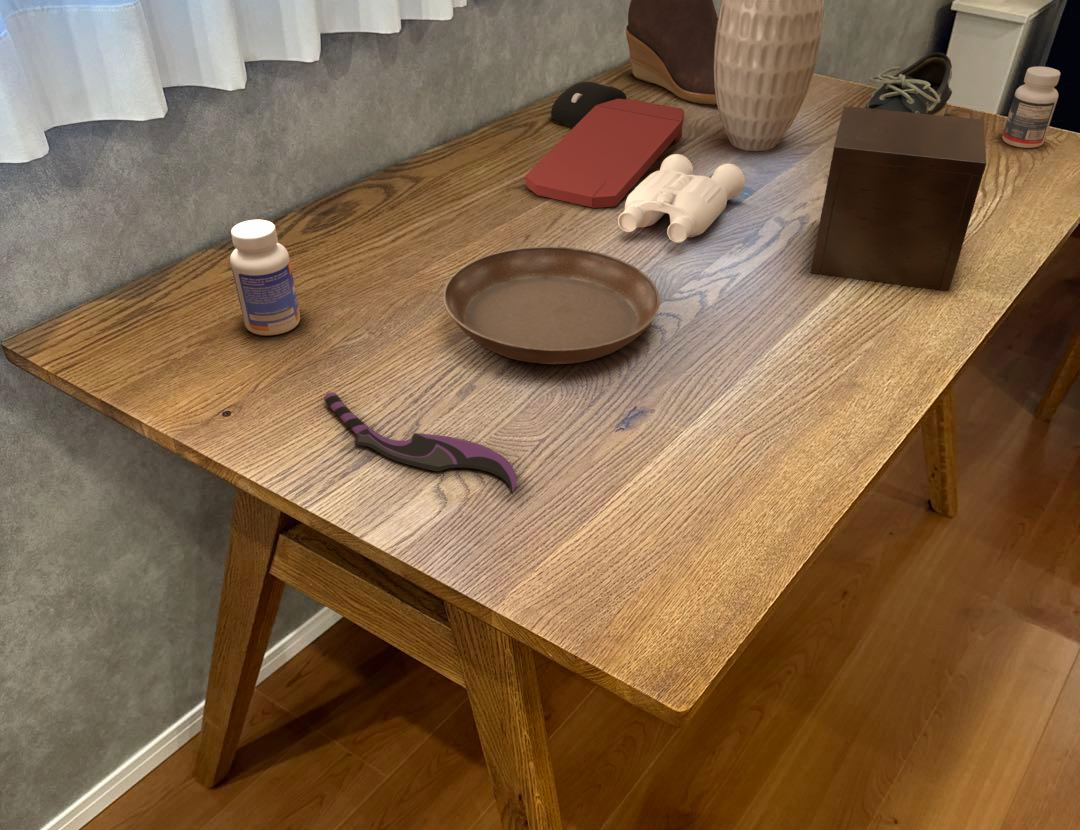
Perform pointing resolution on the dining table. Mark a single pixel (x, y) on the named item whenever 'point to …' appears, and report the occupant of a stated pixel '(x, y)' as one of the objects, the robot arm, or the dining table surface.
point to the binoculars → (681, 198)
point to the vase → (764, 66)
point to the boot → (674, 46)
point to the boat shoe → (915, 87)
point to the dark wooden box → (899, 197)
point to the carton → (606, 152)
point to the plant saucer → (551, 303)
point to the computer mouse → (582, 101)
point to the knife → (426, 448)
